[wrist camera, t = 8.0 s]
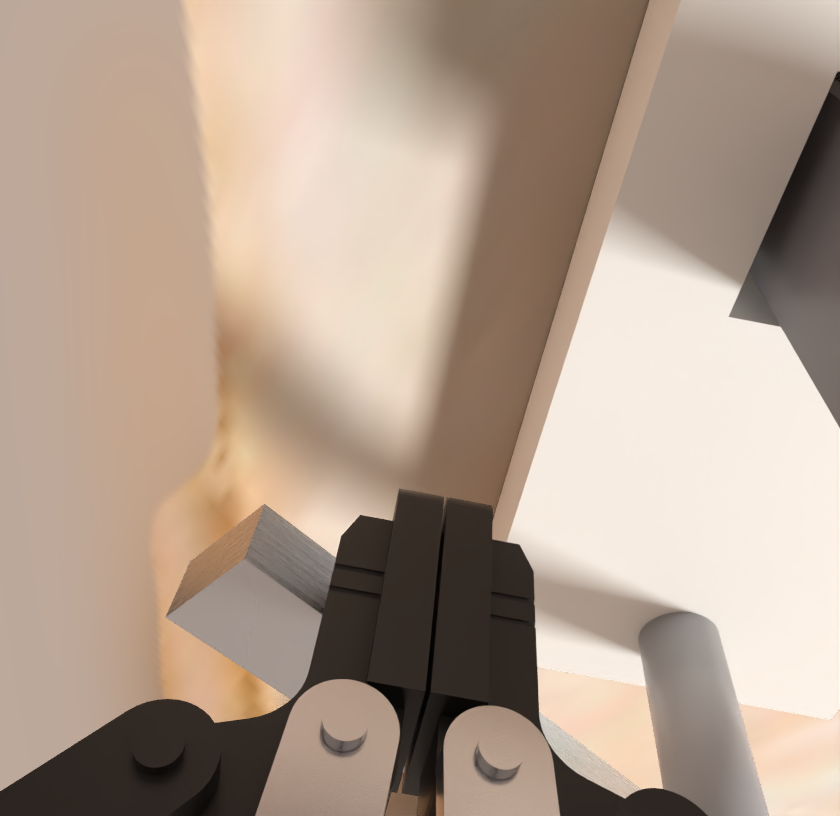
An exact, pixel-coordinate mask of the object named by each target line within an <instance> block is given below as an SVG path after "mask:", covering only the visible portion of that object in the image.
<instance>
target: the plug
mask: <svg viewBox="0 0 840 816" xmlns="http://www.w3.org/2000/svg"><path fill="white" fill-rule="evenodd" d="M749 273H750V274H751V276H752V278H753V280H754V281H755V283H756V285H757V287H758V288H759V290H760V292H761V293H762V295H763V297H764V299H765V300H766V302H767V304H768V305H769V307H770V309H771V311H772V312H773V314H774V316H775V318H776V319H777V321H778V323H779V324H780V326H781V328H782V330H783V331H784V333H785V335H786V337H787V338H788V340H789V342H790V343H791V345H792V347H793V349H794V350H795V352H796V354H797V355H798V357H799V359H800V361H801V362H802V364H803V366H804V368H805V369H806V371H807V373H808V374H809V376H810V378H811V380H812V381H813V383H814V385H815V386H816V388H817V390H818V392H819V393H820V395H821V397H822V399H823V400H824V402H825V404H826V405H827V407H828V409H829V411H830V412H831V414H832V416H833V417H834V419H835V421H836V423H837V424H838V426H839V428H840V81H837V80H833V83H832V85H831V87H830V89H829V92H828V94H827V96H826V98H825V101H824V103H823V105H822V107H821V110H820V112H819V114H818V116H817V119H816V121H815V123H814V125H813V128H812V130H811V132H810V134H809V137H808V139H807V141H806V143H805V146H804V148H803V150H802V152H801V155H800V157H799V159H798V161H797V164H796V166H795V168H794V170H793V173H792V175H791V177H790V179H789V182H788V184H787V186H786V188H785V191H784V193H783V195H782V197H781V200H780V202H779V204H778V206H777V209H776V211H775V213H774V215H773V218H772V220H771V222H770V224H769V227H768V229H767V231H766V233H765V236H764V238H763V240H762V242H761V245H760V247H759V249H758V251H757V254H756V256H755V258H754V260H753V263H752V265H751V267H750V269H749Z"/></svg>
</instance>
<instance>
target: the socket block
mask: <svg viewBox="0 0 840 816" xmlns="http://www.w3.org/2000/svg"><path fill="white" fill-rule="evenodd" d="M837 71H839V72H840V0H649V4H648V7H647V10H646V14H645V17H644V20H643V24H642V27H641V30H640V33H639V37H638V40H637V43H636V47H635V50H634V53H633V57H632V60H631V63H630V67H629V70H628V73H627V77H626V80H625V83H624V87H623V90H622V93H621V97H620V100H619V103H618V107H617V110H616V113H615V116H614V120H613V123H612V126H611V130H610V133H609V136H608V140H607V143H606V146H605V150H604V153H603V156H602V160H601V163H600V166H599V170H598V173H597V176H596V180H595V183H594V186H593V190H592V193H591V196H590V200H589V203H588V206H587V209H586V213H585V216H584V219H583V223H582V226H581V229H580V233H579V236H578V239H577V243H576V246H575V249H574V253H573V256H572V259H571V263H570V266H569V269H568V273H567V276H566V279H565V283H564V286H563V289H562V293H561V296H560V299H559V302H558V306H557V309H556V312H555V316H554V319H553V322H552V326H551V329H550V332H549V336H548V339H547V342H546V346H545V349H544V352H543V356H542V359H541V362H540V366H539V369H538V372H537V376H536V379H535V382H534V386H533V389H532V392H531V395H530V399H529V402H528V405H527V409H526V412H525V415H524V419H523V422H522V425H521V429H520V432H519V435H518V439H517V442H516V445H515V449H514V452H513V455H512V459H511V462H510V465H509V469H508V472H507V475H506V479H505V482H504V485H503V488H502V492H501V495H500V498H499V502H498V505H497V508H496V512H495V515H494V518H493V524H492V539H493V540H498V541H504V542H509V543H515V544H520V546H521V548H522V550H523V552H524V554H525V556H526V558H527V560H528V562H529V563H530V565H531V567H532V569H533V571H534V595H535V600H534V605H535V628H536V649H537V667H540V668H546V669H551V670H557V671H562V672H568V673H573V674H579V675H584V676H590V677H595V678H601V679H607V680H612V681H618V682H623V683H629V684H634V685H640V686H645V687H646V689H647V695H648V701H649V707H650V713H651V719H652V725H653V731H654V737H655V743H656V748H657V754H658V760H659V766H660V772H661V778H662V784H663V789H665V790H668V791H671V792H675V793H677V794H679V795H681V796H683V797H685V798H687V799H688V800H690V801H691V802H693V803H694V804H695V805H697V806H698V807H699V808H700V809H702V810H703V811H704V812H705V813H706V814H707V815H708V816H769V813H768V809H767V806H766V802H765V799H764V795H763V791H762V788H761V784H760V780H759V777H758V773H757V769H756V766H755V762H754V758H753V755H752V751H751V748H750V744H749V740H748V737H747V733H746V729H745V726H744V722H743V718H742V715H741V711H740V707H739V704H745V705H750V706H756V707H761V708H767V709H772V710H778V711H784V712H789V713H795V714H800V715H806V716H811V717H817V718H822V719H828V720H831V719H832V718H833V716H834V715H835V714H836V713H837V711H838V710H839V709H840V428H839V426H838V424H837V423H836V421H835V419H834V417H833V416H832V414H831V412H830V411H829V409H828V407H827V405H826V404H825V402H824V400H823V399H822V397H821V395H820V393H819V392H818V390H817V388H816V386H815V385H814V383H813V381H812V380H811V378H810V376H809V374H808V373H807V371H806V369H805V368H804V366H803V364H802V362H801V361H800V359H799V357H798V355H797V354H796V352H795V350H794V349H793V347H792V345H791V343H790V342H789V340H788V338H787V337H786V335H785V333H784V331H783V330H782V328H781V326H780V324H779V323H778V321H777V319H776V318H775V316H774V314H773V312H772V311H771V309H770V307H769V305H768V304H767V302H766V300H765V299H764V297H763V295H762V293H761V292H760V290H759V288H758V287H757V285H756V283H755V281H754V280H753V278H752V276H751V274H750V273H749V269H750V267H751V265H752V263H753V260H754V258H755V256H756V254H757V251H758V249H759V247H760V245H761V242H762V240H763V238H764V236H765V233H766V231H767V229H768V227H769V224H770V222H771V220H772V218H773V215H774V213H775V211H776V209H777V206H778V204H779V202H780V200H781V197H782V195H783V193H784V191H785V188H786V186H787V184H788V182H789V179H790V177H791V175H792V173H793V170H794V168H795V166H796V164H797V161H798V159H799V157H800V155H801V152H802V150H803V148H804V146H805V143H806V141H807V139H808V137H809V134H810V132H811V130H812V128H813V125H814V123H815V121H816V119H817V116H818V114H819V112H820V110H821V107H822V105H823V103H824V101H825V98H826V96H827V94H828V92H829V89H830V87H831V85H832V83H833V80H834V78H835V76H836V74H837ZM738 703H739V704H738Z"/></svg>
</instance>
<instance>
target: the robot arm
mask: <svg viewBox="0 0 840 816" xmlns="http://www.w3.org/2000/svg"><path fill="white" fill-rule="evenodd" d="M443 506H444V508H443ZM492 524H493V509H492V506H490V505H485V504H480V503H474V502H469V501H464V500H458V499H453V498H448V497H447V498H446V501H445V504H444V497H441V496H436V495H430V494H425V493H420V492H414V491H409V490H403V489H399V492H398V497H397V502H396V507H395V512H394V517H393V521H389V520H384V519H379V518H373V517H368V516H362V515H360V516H359V517H358V518H357V519H356V521H355V522H354V523H353V524H352V525H351V526H350V527H349V528H348V529H347V531H346V532H345V533H344V534H343V535H342V536H341V540H340V544H339V548H338V552H337V557H336V561H335V566H334V569H333V573H332V577H331V581H330V586H329V591H328V594H327V598H326V602H325V606H324V610H323V614H322V619H321V623H320V627H319V631H318V635H317V639H316V643H315V648H314V652H313V656H312V660H311V664H310V668H309V672H308V675H307V678H306V680H305V682H304V684H303V686H302V688H301V689H300V690H299V691H298V693H297V694H296V695H295V696H294V697H293V698H292V699H291V700H290V701H289V702H288V703H286V704H285V705H283V706H282V707H280V708H279V709H277V710H275V711H273V712H271V713H268V714H265V715H262V716H259V717H254V718H249V719H242V720H234V721H227V722H219V723H214V722H213V720H212V719H211V717H210V716H209V715H208V714H207V713H206V712H205V711H203V710H202V709H200V708H199V707H197V706H195V705H193V704H191V703H188V702H185V701H180V700H173V699H162V700H154V701H150V702H146V703H143V704H141V705H138V706H136V707H134V708H132V709H130V710H128V711H126V712H125V713H124V714H122V715H120V716H119V717H117V718H115V719H114V720H112V721H111V722H109V723H107V724H106V725H104V726H103V727H101V728H100V729H98V730H96V731H95V732H93V733H92V734H90V735H89V736H87V737H86V738H84V739H82V740H81V741H79V742H78V743H76V744H74V745H73V746H71V747H70V748H68V749H67V750H65V751H64V752H62V753H60V754H59V755H57V756H56V757H54V758H52V759H51V760H49V761H48V762H46V763H45V764H43V765H41V766H40V767H38V768H37V769H35V770H33V771H32V772H30V773H29V774H27V775H26V776H24V777H23V778H21V779H19V780H18V781H16V782H15V783H13V784H11V785H10V786H8V787H7V788H5V789H3V790H2V791H0V816H385V812H386V809H387V805H388V801H389V798H390V794H391V792H396V793H397V791H398V787H399V784H400V780H401V777H402V773H403V770H404V776H403V785H402V793H404V794H410V795H415V796H419V797H418V808H417V816H708V815H707V814H706V813H705V812H704V811H703V810H702V809H700V808H699V807H698V806H697V805H695V804H694V803H693V802H691V801H690V800H688V799H687V798H685V797H683V796H681V795H679V794H677V793H675V792H671V791H668V790H665V789H657V788H648V789H642V790H638V791H636V792H634V793H632V794H630V795H629V796H628V797H627V798H623V797H621V796H619V795H617V794H615V793H613V792H612V791H610V790H608V789H606V788H604V787H602V786H600V785H598V784H596V783H594V782H592V781H590V780H588V779H586V778H585V777H583V776H581V775H580V774H578V773H576V772H575V771H574V770H572V769H571V768H570V767H569V766H567V765H566V764H565V763H564V762H563V761H562V760H561V759H560V758H559V757H558V755H557V754H556V753H555V752H554V751H553V749H552V748H551V746H550V744H549V743H548V741H547V739H546V737H545V735H544V733H543V730H542V727H541V723H540V718H539V703H538V676H537V649H536V628H535V605H534V600H535V595H534V571H533V569H532V567H531V565H530V563H529V562H528V560H527V558H526V556H525V554H524V552H523V550H522V548H521V546H520V544H515V543H509V542H504V541H498V540H493V539H492ZM404 766H405V767H404Z"/></svg>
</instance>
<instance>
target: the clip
mask: <svg viewBox="0 0 840 816" xmlns="http://www.w3.org/2000/svg"><path fill="white" fill-rule="evenodd" d="M335 561H336V558H335V557H334V556H333V555H331V554H330V553H329V552H327V551H326V550H325V549H323V548H322V547H321V546H319V545H318V544H317V543H315V542H314V541H313V540H311V539H310V538H309V537H307V536H306V535H305V534H303V533H302V532H301V531H300V530H298V529H297V528H296V527H294V526H293V525H292V524H290V523H289V522H288V521H286V520H285V519H284V518H282V517H281V516H280V515H278V514H277V513H276V512H274V511H273V510H272V509H270V508H269V507H268V506H267V505H265V504H264V505H263V506H261V507H260V508H259V509H257V510H256V511H255V512H254V513H252V514H251V515H250V516H248V517H247V518H246V519H245V520H243V521H242V522H241V523H239V524H238V525H237V526H235V527H234V528H233V529H232V530H230V531H229V532H228V533H226V534H225V535H224V536H223V537H221V538H220V539H219V540H217V541H216V542H215V543H214V544H212V545H211V546H210V547H208V548H207V549H206V550H205V551H203V552H202V553H201V554H199V555H198V556H197V557H196V558H194V559H193V560H192V561H190V563H189V565H188V568H187V570H186V572H185V574H184V577H183V579H182V581H181V584H180V586H179V588H178V590H177V593H176V595H175V597H174V599H173V602H172V604H171V606H170V608H169V611H168V613H167V615H166V618H168V619H169V620H171V621H172V622H174V623H175V624H177V625H178V626H180V627H181V628H183V629H184V630H186V631H187V632H189V633H190V634H192V635H194V636H195V637H197V638H198V639H200V640H201V641H203V642H204V643H206V644H207V645H209V646H210V647H212V648H213V649H215V650H216V651H218V652H220V653H221V654H223V655H224V656H226V657H227V658H229V659H230V660H232V661H233V662H235V663H236V664H238V665H239V666H241V667H242V668H244V669H246V670H247V671H249V672H250V673H252V674H253V675H255V676H256V677H258V678H259V679H261V680H262V681H264V682H265V683H267V684H268V685H270V686H271V687H273V688H275V689H276V690H278V691H279V692H281V693H282V694H284V695H285V696H287V697H288V698H290V699H292V698H293V697H294V696H295V695H296V694H297V693H298V691H299V690H300V689H301V688H302V686H303V684H304V682H305V680H306V678H307V675H308V672H309V668H310V664H311V660H312V656H313V652H314V648H315V643H316V639H317V635H318V631H319V627H320V623H321V619H322V614H323V610H324V606H325V602H326V598H327V594H328V591H329V586H330V581H331V577H332V573H333V569H334V566H335ZM539 718H540V723H541V727H542V730H543V733H544V735H545V737H546V739H547V741H548V743H549V744H550V746H551V748H552V749H553V751H554V752H555V753H556V754H557V755H558V757H559V758H560V759H561V760H562V761H563V762H564V763H565V764H566V765H567V766H569V767H570V768H571V769H572V770H574V771H575V772H576V773H578V774H580V775H581V776H583V777H585V778H586V779H588V780H590V781H592V782H594V783H596V784H598V785H600V786H602V787H604V788H606V789H608V790H610V791H612V792H613V793H615V794H617V795H619V796H621V797H623V798H627V797H628V796H629V795H630V794H632V793H634V792H636V791H638V790H641V789H640V788H639V787H637V786H636V785H635V784H633V783H632V782H631V781H629V780H628V779H627V778H626V777H624V776H623V775H622V774H620V773H619V772H618V771H616V770H615V769H614V768H612V767H611V766H610V765H608V764H607V763H606V762H604V761H603V760H602V759H600V758H599V757H598V756H596V755H595V754H594V753H593V752H591V751H590V750H589V749H587V748H586V747H585V746H583V745H582V744H581V743H579V742H578V741H577V740H575V739H574V738H573V737H571V736H570V735H569V734H567V733H566V732H565V731H563V730H562V729H561V728H560V727H558V726H557V725H556V724H554V723H553V722H552V721H550V720H549V719H548V718H546V717H545V716H544V715H542V714H541V713H540V712H539ZM404 767H405V766H404ZM403 773H404V770H403Z"/></svg>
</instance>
